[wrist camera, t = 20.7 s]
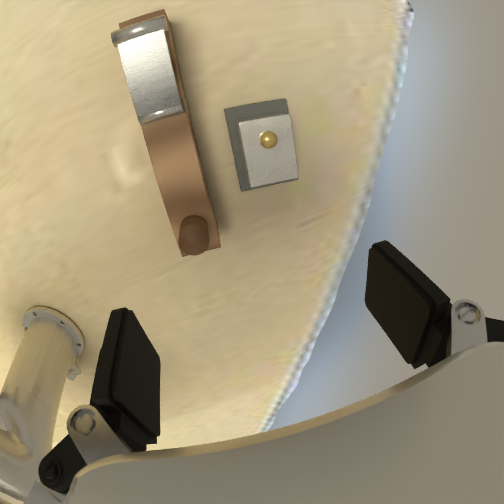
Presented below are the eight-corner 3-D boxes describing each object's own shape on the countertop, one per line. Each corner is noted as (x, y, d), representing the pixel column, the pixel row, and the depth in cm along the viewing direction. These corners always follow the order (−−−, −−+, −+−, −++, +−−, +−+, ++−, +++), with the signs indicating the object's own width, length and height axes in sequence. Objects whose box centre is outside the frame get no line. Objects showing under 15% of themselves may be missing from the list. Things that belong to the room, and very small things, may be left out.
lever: (186, 112, 22) (163, 13, 15) (136, 127, 22) (109, 31, 15) (186, 108, 23) (165, 15, 17) (139, 122, 23) (114, 32, 16)
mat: (297, 178, 34) (297, 179, 34) (241, 190, 33) (241, 191, 33) (285, 98, 29) (286, 98, 28) (224, 109, 28) (224, 109, 28)
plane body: (217, 227, 35) (223, 261, 29) (183, 236, 35) (181, 272, 28) (169, 21, 22) (160, -1, 15) (130, 33, 21) (110, 16, 15)
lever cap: (288, 169, 33) (299, 178, 29) (245, 178, 32) (251, 188, 29) (280, 112, 29) (290, 114, 26) (234, 120, 29) (239, 122, 25)
